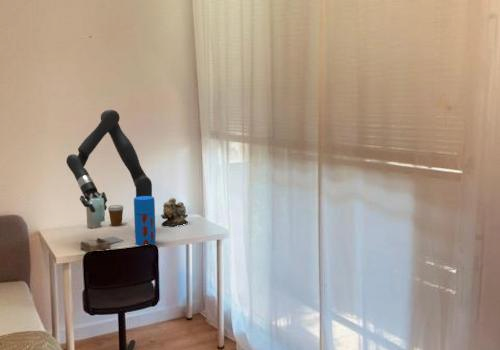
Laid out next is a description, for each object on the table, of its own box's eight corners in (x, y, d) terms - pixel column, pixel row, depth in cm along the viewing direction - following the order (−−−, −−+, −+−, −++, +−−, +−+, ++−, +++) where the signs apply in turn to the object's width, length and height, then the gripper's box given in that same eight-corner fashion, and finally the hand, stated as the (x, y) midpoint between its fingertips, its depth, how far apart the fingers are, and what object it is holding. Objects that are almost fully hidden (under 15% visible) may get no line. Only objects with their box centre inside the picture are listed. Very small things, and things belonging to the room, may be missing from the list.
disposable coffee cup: (119, 227, 296) (119, 208, 294) (105, 226, 298) (104, 207, 296) (126, 223, 305) (126, 205, 304) (113, 222, 307) (112, 204, 306)
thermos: (137, 240, 267) (135, 196, 264) (156, 239, 268) (155, 195, 265) (134, 246, 256) (132, 199, 253) (154, 245, 257) (153, 199, 254)
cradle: (99, 245, 258) (98, 238, 257) (110, 249, 250) (109, 242, 250) (80, 249, 250) (80, 241, 250) (91, 253, 243) (91, 246, 242)
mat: (113, 237, 273) (113, 236, 273) (123, 241, 266) (123, 240, 265) (95, 241, 265) (95, 240, 265) (105, 245, 258) (105, 244, 258)
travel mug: (100, 228, 294) (98, 199, 292) (86, 228, 293) (85, 199, 290) (101, 224, 302) (100, 196, 299) (88, 225, 300) (86, 197, 298)
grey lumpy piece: (165, 228, 293) (164, 201, 291) (157, 225, 302) (156, 198, 300) (191, 224, 304) (190, 197, 301) (182, 220, 313) (181, 195, 311)
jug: (101, 219, 257) (99, 197, 256) (109, 221, 252) (108, 199, 250) (90, 221, 253) (89, 198, 251) (99, 223, 247) (97, 200, 246)
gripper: (76, 183, 250) (89, 208, 244) (101, 179, 261) (114, 204, 254) (72, 191, 255) (84, 217, 248) (97, 188, 265) (109, 212, 259)
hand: (99, 210), depth 251 cm, fingers closed on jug, 6 cm apart
